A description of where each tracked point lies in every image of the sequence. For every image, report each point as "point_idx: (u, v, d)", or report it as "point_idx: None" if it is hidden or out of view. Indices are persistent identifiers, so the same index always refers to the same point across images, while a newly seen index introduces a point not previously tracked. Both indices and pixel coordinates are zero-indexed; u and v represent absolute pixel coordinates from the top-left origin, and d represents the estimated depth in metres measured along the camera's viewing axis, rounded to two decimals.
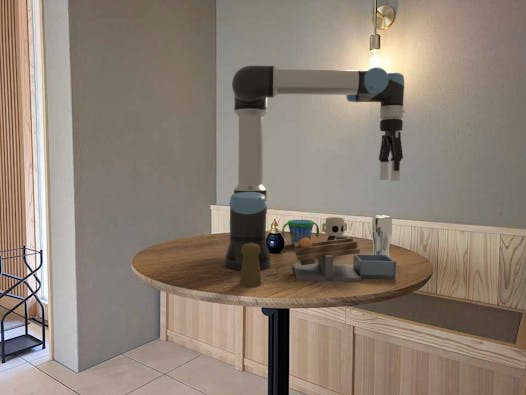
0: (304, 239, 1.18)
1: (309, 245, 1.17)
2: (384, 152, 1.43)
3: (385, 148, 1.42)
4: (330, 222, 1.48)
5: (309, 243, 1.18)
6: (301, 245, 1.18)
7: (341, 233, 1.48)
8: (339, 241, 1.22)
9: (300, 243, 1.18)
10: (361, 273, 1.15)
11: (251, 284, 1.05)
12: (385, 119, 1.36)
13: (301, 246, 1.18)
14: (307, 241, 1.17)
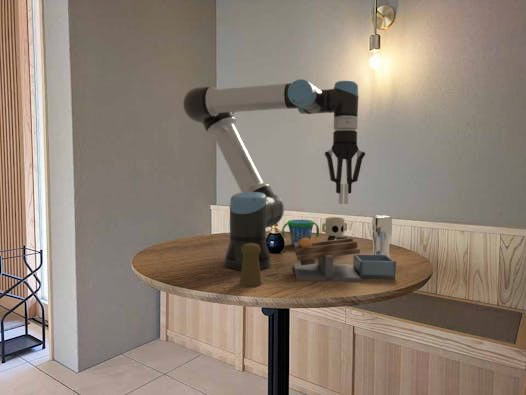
0: (304, 239, 1.18)
1: (309, 245, 1.17)
2: (346, 169, 1.29)
3: (346, 163, 1.29)
4: (330, 222, 1.48)
5: (309, 243, 1.18)
6: (301, 245, 1.18)
7: (341, 233, 1.48)
8: (339, 241, 1.22)
9: (300, 243, 1.18)
10: (361, 273, 1.15)
11: (251, 284, 1.05)
12: None
13: (301, 246, 1.18)
14: (307, 241, 1.17)
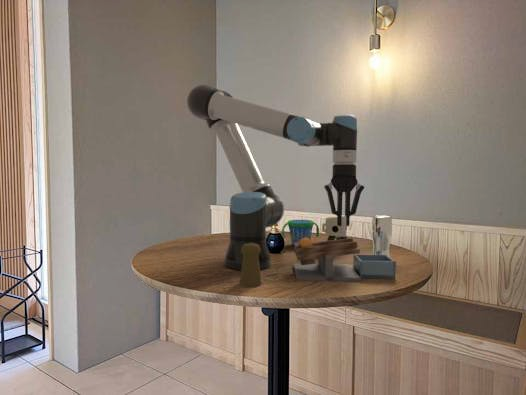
0: (304, 239, 1.18)
1: (309, 245, 1.17)
2: (345, 201, 1.30)
3: (345, 196, 1.30)
4: (330, 222, 1.48)
5: (309, 243, 1.18)
6: (301, 245, 1.18)
7: None
8: (339, 241, 1.22)
9: (300, 243, 1.18)
10: (361, 273, 1.15)
11: (251, 284, 1.05)
12: None
13: (301, 246, 1.18)
14: (307, 241, 1.17)
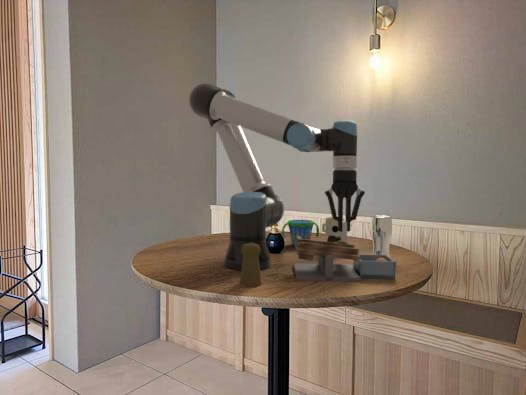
0: None
1: None
2: None
3: None
4: (330, 222, 1.48)
5: None
6: None
7: None
8: (340, 245, 1.22)
9: None
10: (361, 273, 1.15)
11: (251, 284, 1.05)
12: None
13: None
14: None
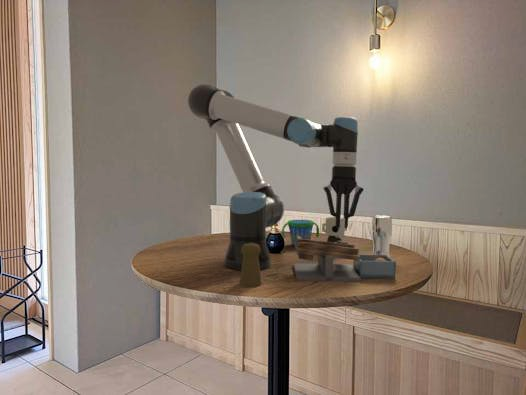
0: None
1: None
2: (344, 203, 1.30)
3: (344, 197, 1.30)
4: (330, 222, 1.48)
5: None
6: None
7: None
8: (340, 245, 1.22)
9: None
10: (361, 273, 1.15)
11: (251, 284, 1.05)
12: None
13: None
14: None
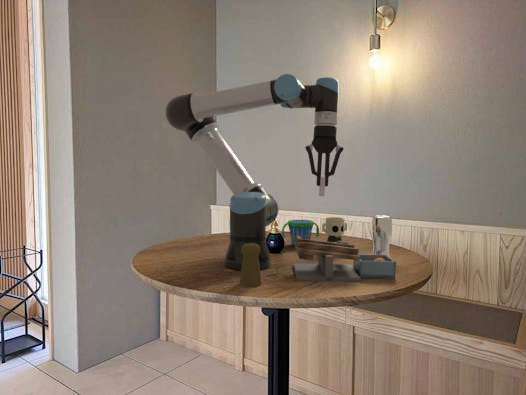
0: None
1: None
2: (325, 162, 1.34)
3: (325, 157, 1.34)
4: (330, 222, 1.48)
5: None
6: None
7: (341, 233, 1.48)
8: (340, 245, 1.22)
9: None
10: (361, 273, 1.15)
11: (251, 284, 1.05)
12: None
13: None
14: None
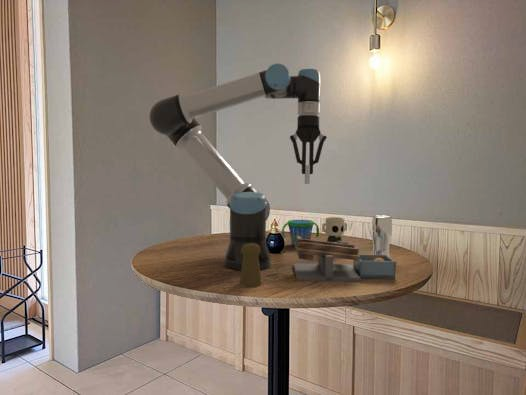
0: None
1: None
2: (309, 151, 1.39)
3: (309, 146, 1.39)
4: (330, 222, 1.48)
5: None
6: None
7: (341, 233, 1.48)
8: (340, 245, 1.22)
9: None
10: (361, 273, 1.15)
11: (251, 284, 1.05)
12: None
13: None
14: None
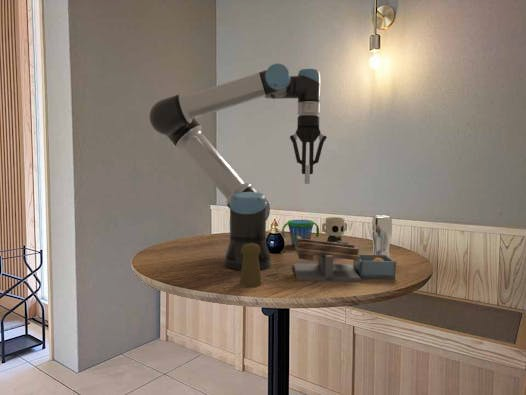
0: None
1: None
2: (309, 151, 1.39)
3: (309, 146, 1.39)
4: (330, 222, 1.48)
5: None
6: None
7: (341, 233, 1.48)
8: (340, 245, 1.22)
9: None
10: (361, 273, 1.15)
11: (251, 284, 1.05)
12: None
13: None
14: None
